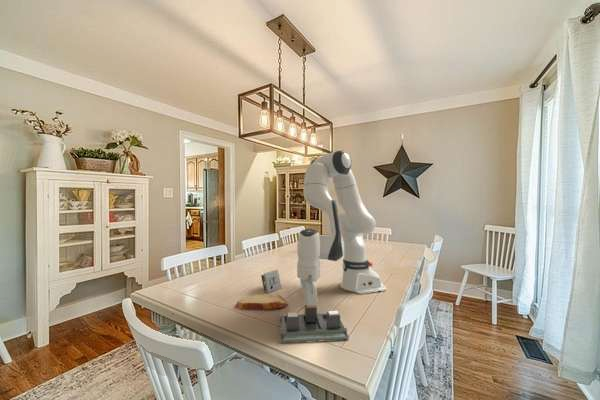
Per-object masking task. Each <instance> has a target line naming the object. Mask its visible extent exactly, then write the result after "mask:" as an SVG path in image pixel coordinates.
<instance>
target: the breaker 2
mask: <svg viewBox="0 0 600 400" xmlns="http://www.w3.org/2000/svg"><path fill="white" fill-rule="evenodd" d="M326 313H327V329H336V328H340V320H341V314H340V313H339V311H338V310H329V311H327V312H326Z"/></svg>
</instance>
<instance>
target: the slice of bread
mask: <svg viewBox="0 0 600 400" xmlns="http://www.w3.org/2000/svg"><path fill="white" fill-rule="evenodd" d="M286 307H288V302H287V301H286V299H285V298H284V297H282V296H281V295H279V294H270V293H269V294H268V293H267V294H260V295H253V296H249V297H245V298H241V299H240V300H238V301H237V302H236V304H235V308H236V309H238V310H246V311H247V310H250V311H251V310H252V311H253V310H254V311H255V310H256V311H269V310H270V311H271V310H278V309H284V308H286Z"/></svg>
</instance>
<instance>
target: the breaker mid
mask: <svg viewBox="0 0 600 400" xmlns="http://www.w3.org/2000/svg"><path fill="white" fill-rule="evenodd" d="M317 309H318V307H317V306H313V307H308V306H307V304H306V305H305V304H304V314H305V322H317V314H318V311H317Z"/></svg>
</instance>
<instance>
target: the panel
mask: <svg viewBox="0 0 600 400" xmlns="http://www.w3.org/2000/svg"><path fill="white" fill-rule="evenodd" d="M298 315H299V330H295V331H287V329H286V319H287V314H279V328H280V329H279V331H280V332H279V333H280V344H294V343H295V342H299V343H308V342H307V341H317V342H320V341H319V340H336V341H341V340H340V339H349V334H348V329H347V327H345V326H344V324H343V322H342V320H341V319H340V328H336V329H327V312H326V313H323V312H322V313H317V322H305V313H303V314H299V313H298ZM295 344H296V343H295Z"/></svg>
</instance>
